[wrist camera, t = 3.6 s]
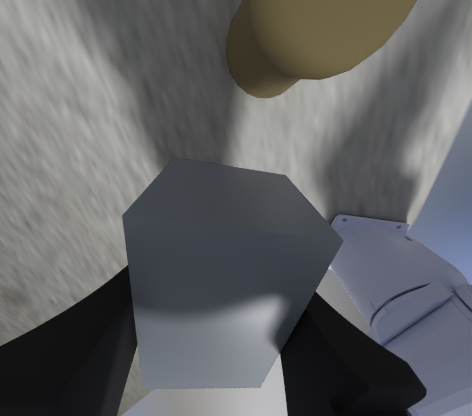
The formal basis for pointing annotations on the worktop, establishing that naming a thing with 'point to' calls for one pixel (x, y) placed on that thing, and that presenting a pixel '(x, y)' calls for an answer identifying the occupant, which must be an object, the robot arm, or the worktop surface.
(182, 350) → the grey rectangular block
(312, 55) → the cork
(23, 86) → the worktop surface
